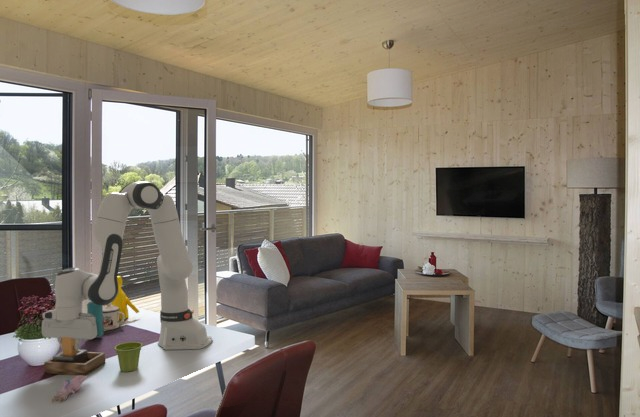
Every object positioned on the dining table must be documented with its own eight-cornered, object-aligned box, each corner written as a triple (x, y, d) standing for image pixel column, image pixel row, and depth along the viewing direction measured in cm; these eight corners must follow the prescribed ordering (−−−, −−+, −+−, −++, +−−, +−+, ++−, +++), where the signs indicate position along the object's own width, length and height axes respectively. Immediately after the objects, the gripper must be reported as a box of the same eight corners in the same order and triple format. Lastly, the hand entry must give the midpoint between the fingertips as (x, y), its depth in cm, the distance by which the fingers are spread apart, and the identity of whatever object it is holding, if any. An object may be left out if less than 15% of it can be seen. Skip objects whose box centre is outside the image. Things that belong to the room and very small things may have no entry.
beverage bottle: (106, 336, 214) (105, 291, 213) (98, 341, 207) (97, 295, 206) (93, 335, 214) (91, 291, 213) (84, 340, 208) (83, 295, 207)
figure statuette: (141, 317, 244) (140, 274, 243) (134, 321, 237) (133, 277, 235) (107, 316, 246) (106, 273, 245) (99, 320, 238) (98, 276, 237)
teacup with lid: (94, 330, 223) (94, 305, 222) (104, 324, 232) (104, 300, 231) (120, 330, 222) (119, 305, 221) (129, 324, 231) (128, 301, 230)
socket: (87, 361, 181) (87, 349, 181) (73, 369, 173) (73, 357, 173) (68, 360, 182) (67, 348, 182) (53, 368, 174) (53, 356, 174)
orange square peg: (77, 359, 179) (77, 329, 178) (71, 362, 175) (70, 332, 175) (69, 358, 179) (68, 329, 179) (62, 362, 176) (62, 331, 175)
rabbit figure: (66, 408, 149) (94, 380, 163) (63, 390, 148) (92, 364, 162) (47, 406, 150) (77, 379, 164) (44, 389, 148) (75, 364, 163)
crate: (105, 363, 182) (105, 352, 182) (85, 375, 170) (85, 364, 170) (66, 360, 184) (66, 350, 184) (44, 373, 172) (44, 362, 172)
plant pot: (124, 363, 182) (124, 340, 181) (147, 365, 180) (147, 342, 180) (109, 373, 173) (109, 349, 172) (133, 374, 171) (133, 351, 170)
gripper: (100, 311, 178) (101, 348, 179) (50, 309, 181) (51, 345, 182) (89, 316, 172) (90, 354, 173) (38, 313, 175) (39, 351, 175)
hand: (70, 349), depth 177 cm, fingers closed on orange square peg, 3 cm apart
